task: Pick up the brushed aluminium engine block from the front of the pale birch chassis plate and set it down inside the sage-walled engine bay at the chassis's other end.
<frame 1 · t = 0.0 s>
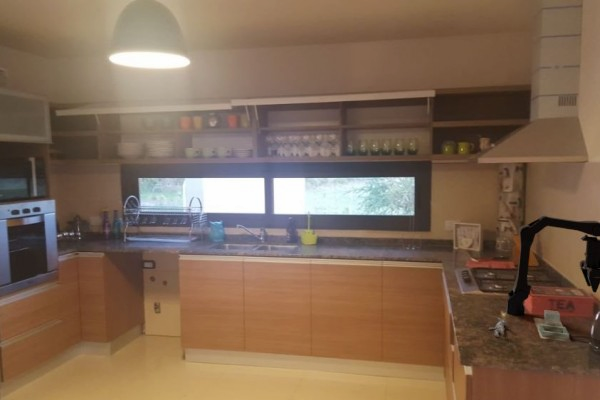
hand: (591, 289, 188), 15 cm above the countertop, tool pointing down, fingers open, 9 cm apart
engine block: (551, 324, 186), point 1 cm above the countertop, touching chassis
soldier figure: (499, 332, 180), on the countertop
chassis: (550, 331, 181), on the countertop
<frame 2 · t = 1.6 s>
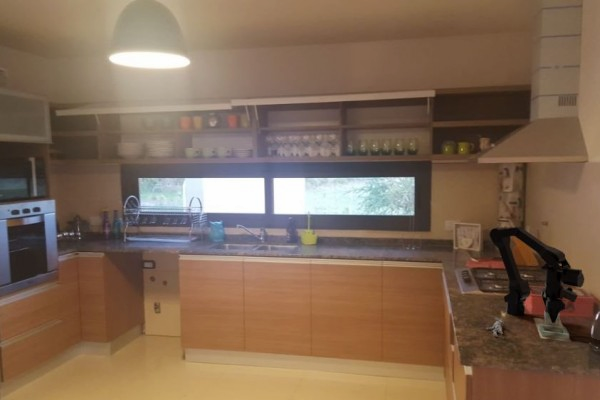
hand: (551, 318, 186), 3 cm above the countertop, tool pointing down, fingers open, 9 cm apart
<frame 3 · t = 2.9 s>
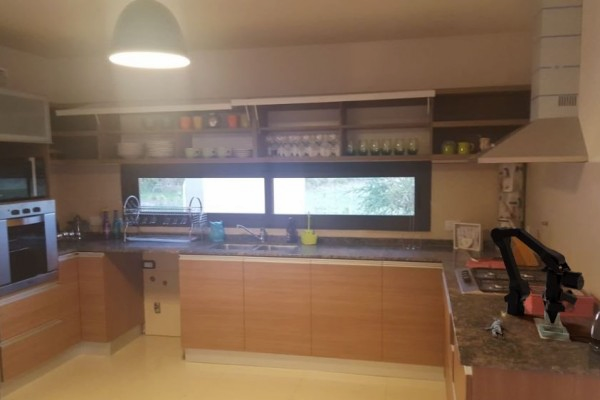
hand: (551, 321, 186), 2 cm above the countertop, tool pointing down, fingers closed on engine block, 4 cm apart
engine block: (551, 324, 186), point 1 cm above the countertop, touching chassis, gripper
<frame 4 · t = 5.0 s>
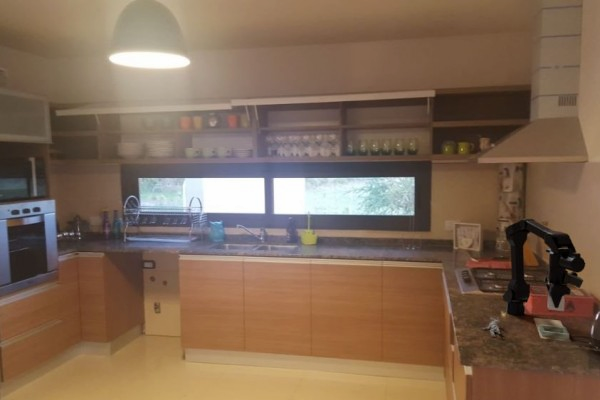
hand: (555, 306, 174), 12 cm above the countertop, tool pointing down, fingers closed on engine block, 4 cm apart
engine block: (555, 308, 174), point 11 cm above the countertop, touching gripper
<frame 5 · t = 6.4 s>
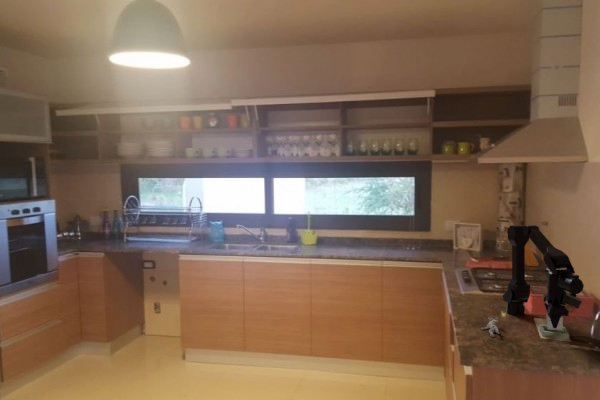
hand: (553, 326, 175), 4 cm above the countertop, tool pointing down, fingers closed on engine block, 4 cm apart
engine block: (553, 328, 175), point 3 cm above the countertop, touching gripper
when the fingers open (4 cm above the countertop, at t = 7.2 s): engine block drops 2 cm, resting on chassis.
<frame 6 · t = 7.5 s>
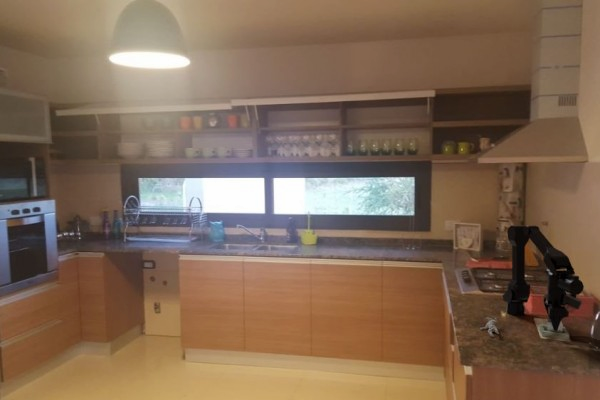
hand: (553, 326, 175), 4 cm above the countertop, tool pointing down, fingers open, 7 cm apart
engine block: (553, 334, 175), point 1 cm above the countertop, touching chassis
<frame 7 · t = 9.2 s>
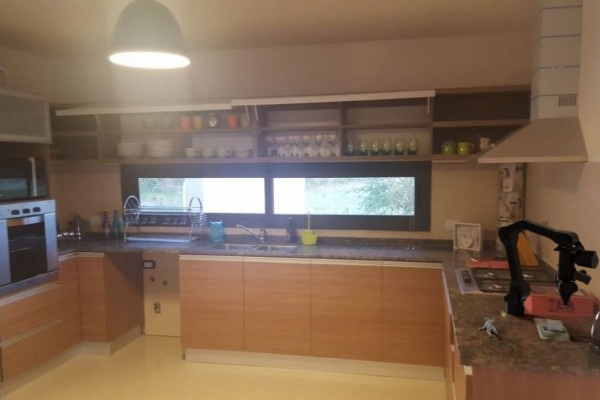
hand: (564, 302, 181), 11 cm above the countertop, tool pointing down, fingers open, 9 cm apart
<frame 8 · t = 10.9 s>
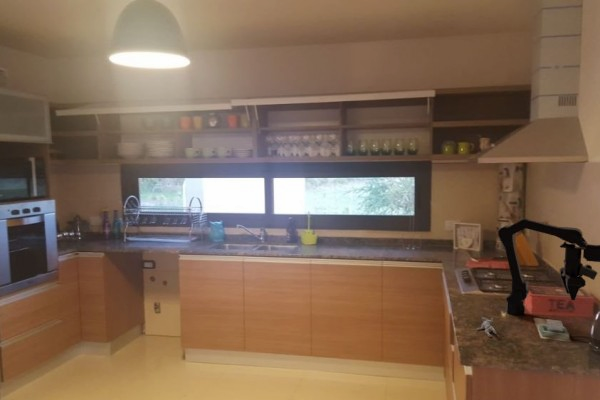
hand: (570, 296, 186), 12 cm above the countertop, tool pointing down, fingers open, 9 cm apart
at the end: engine block 0.1 cm from the target spot, point 1.0 cm above the countertop; engine block tilted 0°; the gripper is holding nothing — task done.
